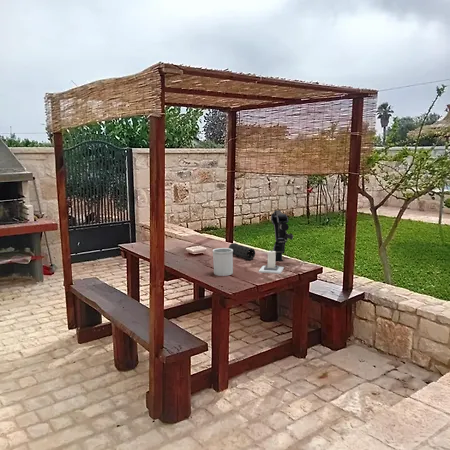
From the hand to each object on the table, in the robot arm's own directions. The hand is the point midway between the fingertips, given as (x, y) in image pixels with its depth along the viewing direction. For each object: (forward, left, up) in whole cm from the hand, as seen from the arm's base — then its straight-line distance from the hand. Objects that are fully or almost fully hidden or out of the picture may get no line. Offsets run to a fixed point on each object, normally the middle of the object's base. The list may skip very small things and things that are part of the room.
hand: (282, 250), depth 334 cm
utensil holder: (+24, -46, -12) cm, 53 cm away
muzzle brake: (-28, -31, -12) cm, 44 cm away
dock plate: (+16, -10, -12) cm, 22 cm away
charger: (+16, -10, -10) cm, 22 cm away
